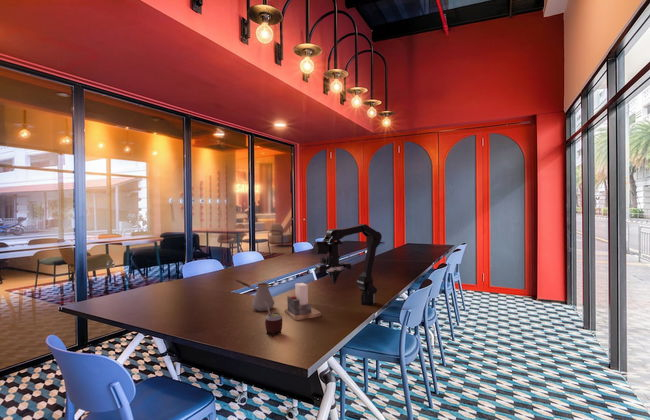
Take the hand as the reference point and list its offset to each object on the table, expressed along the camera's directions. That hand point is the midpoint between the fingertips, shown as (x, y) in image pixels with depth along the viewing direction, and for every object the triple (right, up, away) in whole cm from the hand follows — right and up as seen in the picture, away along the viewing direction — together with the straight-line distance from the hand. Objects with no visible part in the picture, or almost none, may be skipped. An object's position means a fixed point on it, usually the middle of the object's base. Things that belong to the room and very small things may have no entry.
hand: (334, 283), depth 176 cm
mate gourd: (-26, -14, -34) cm, 45 cm away
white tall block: (-16, -11, -8) cm, 21 cm away
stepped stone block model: (-16, -13, -8) cm, 22 cm away
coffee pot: (-42, -14, +3) cm, 44 cm away
